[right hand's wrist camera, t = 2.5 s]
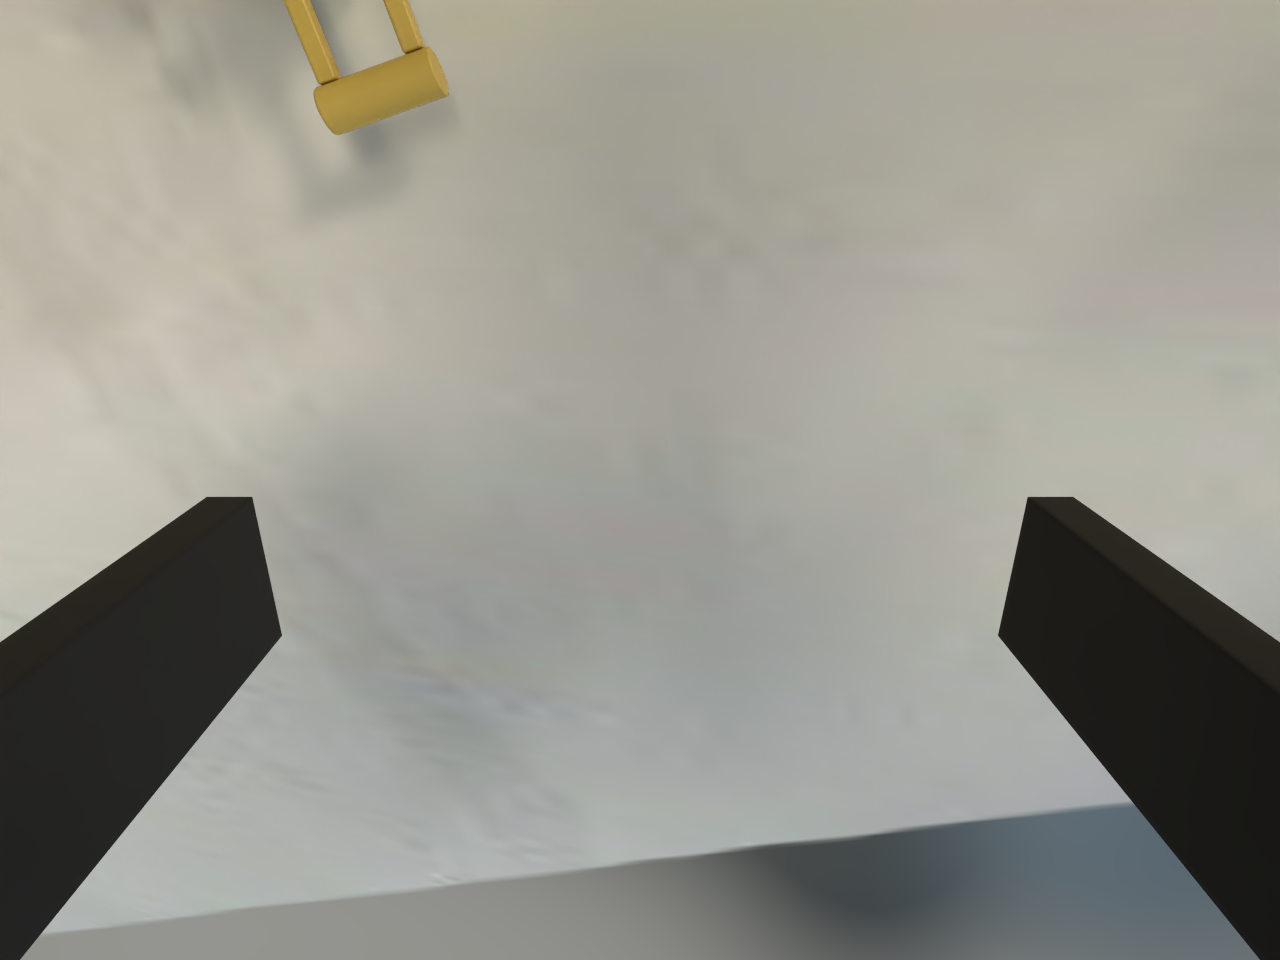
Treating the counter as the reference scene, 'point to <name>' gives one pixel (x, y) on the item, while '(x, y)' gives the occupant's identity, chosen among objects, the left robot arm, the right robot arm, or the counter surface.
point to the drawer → (370, 72)
